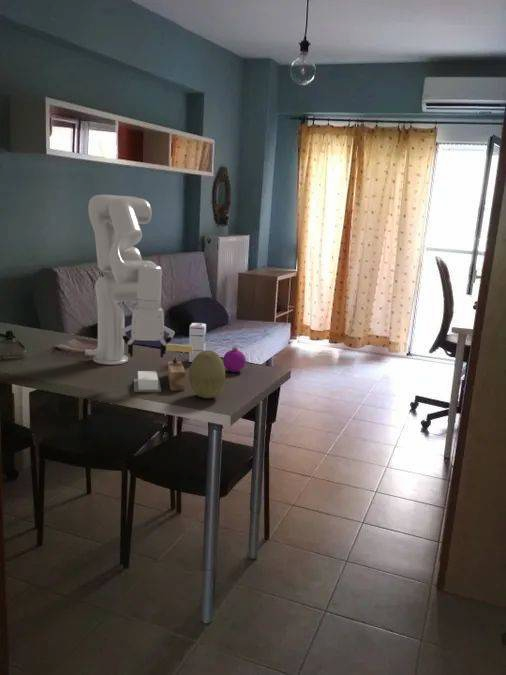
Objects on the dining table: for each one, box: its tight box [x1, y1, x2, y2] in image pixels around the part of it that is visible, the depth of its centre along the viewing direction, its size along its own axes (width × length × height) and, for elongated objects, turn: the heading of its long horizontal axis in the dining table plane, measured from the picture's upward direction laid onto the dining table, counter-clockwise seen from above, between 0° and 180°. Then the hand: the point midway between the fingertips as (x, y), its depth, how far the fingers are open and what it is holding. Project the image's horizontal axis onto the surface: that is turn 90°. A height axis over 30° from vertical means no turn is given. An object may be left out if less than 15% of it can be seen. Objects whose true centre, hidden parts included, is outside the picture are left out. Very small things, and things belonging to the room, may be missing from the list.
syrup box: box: [188, 322, 207, 363], centre depth 225 cm, size 6×6×14 cm
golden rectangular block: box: [165, 342, 193, 363], centre depth 201 cm, size 2×9×6 cm, turn 82°
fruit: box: [188, 349, 226, 399], centre depth 183 cm, size 11×11×15 cm
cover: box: [137, 370, 159, 390], centre depth 191 cm, size 6×10×3 cm, turn 12°
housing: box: [167, 360, 186, 391], centre depth 197 cm, size 4×18×6 cm, turn 11°
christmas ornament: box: [222, 346, 246, 373], centre depth 214 cm, size 8×8×10 cm
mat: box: [133, 378, 162, 393], centre depth 192 cm, size 8×12×1 cm
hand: (146, 356), depth 190 cm, fingers open, 9 cm apart
